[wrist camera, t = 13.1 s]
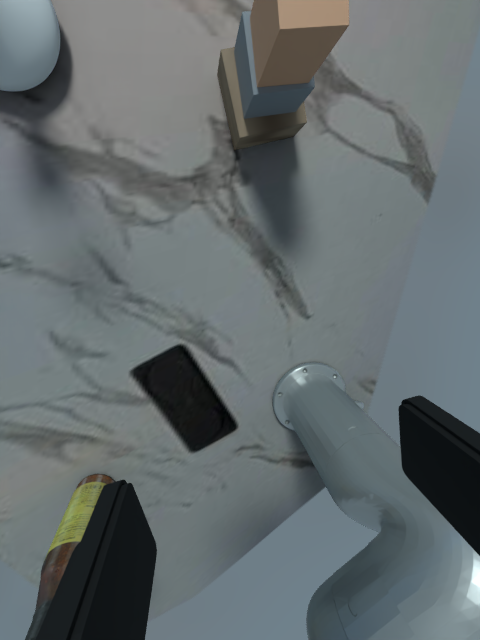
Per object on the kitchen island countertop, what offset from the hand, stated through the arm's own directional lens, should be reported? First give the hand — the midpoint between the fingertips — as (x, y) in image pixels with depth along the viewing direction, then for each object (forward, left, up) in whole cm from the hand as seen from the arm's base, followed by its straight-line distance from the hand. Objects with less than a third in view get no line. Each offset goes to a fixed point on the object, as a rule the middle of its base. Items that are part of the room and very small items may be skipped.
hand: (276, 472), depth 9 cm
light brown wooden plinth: (0, -25, -31) cm, 40 cm away
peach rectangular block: (+1, -25, -22) cm, 33 cm away
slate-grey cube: (+1, -25, -27) cm, 37 cm away
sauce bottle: (+10, +34, -31) cm, 48 cm away
